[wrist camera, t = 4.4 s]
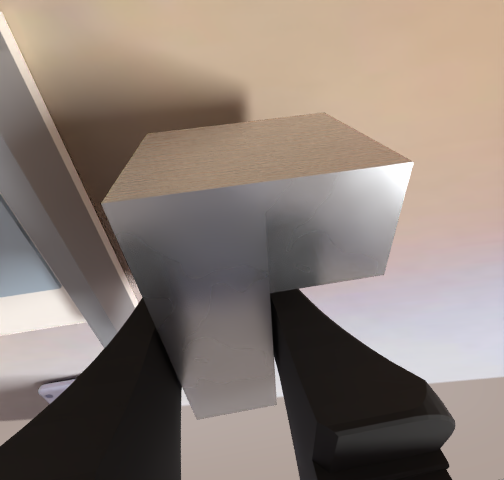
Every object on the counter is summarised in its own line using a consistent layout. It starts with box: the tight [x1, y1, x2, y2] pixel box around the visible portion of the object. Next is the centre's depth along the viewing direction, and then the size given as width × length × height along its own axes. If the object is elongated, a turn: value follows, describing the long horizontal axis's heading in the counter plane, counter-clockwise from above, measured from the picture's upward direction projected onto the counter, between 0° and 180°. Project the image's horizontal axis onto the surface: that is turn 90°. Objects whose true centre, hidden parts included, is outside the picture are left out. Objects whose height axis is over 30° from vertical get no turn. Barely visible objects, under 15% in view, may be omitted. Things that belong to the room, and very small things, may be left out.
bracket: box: [101, 113, 413, 420], centre depth 10 cm, size 9×6×5 cm, turn 4°
